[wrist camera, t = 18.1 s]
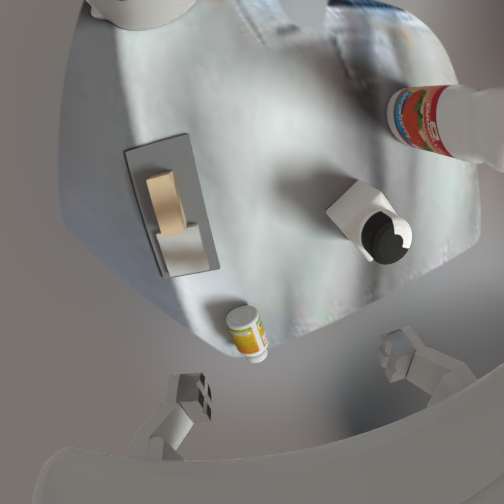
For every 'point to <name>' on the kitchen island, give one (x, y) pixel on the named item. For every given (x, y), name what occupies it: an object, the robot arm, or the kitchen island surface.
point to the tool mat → (183, 165)
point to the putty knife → (175, 228)
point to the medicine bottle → (371, 224)
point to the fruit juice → (451, 121)
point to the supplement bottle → (248, 332)
